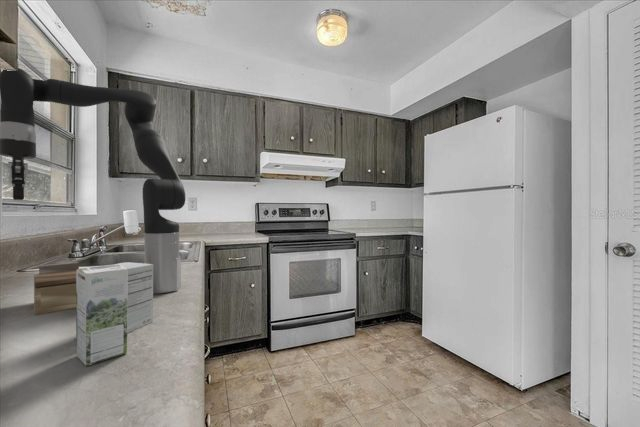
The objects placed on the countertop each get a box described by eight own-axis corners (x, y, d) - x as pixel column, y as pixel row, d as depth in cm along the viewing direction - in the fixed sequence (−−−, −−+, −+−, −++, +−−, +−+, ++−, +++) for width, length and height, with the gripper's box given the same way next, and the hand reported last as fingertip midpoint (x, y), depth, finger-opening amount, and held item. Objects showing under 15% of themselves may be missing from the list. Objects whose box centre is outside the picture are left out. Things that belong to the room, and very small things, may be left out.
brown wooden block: (33, 277, 78) (33, 266, 77) (82, 272, 85) (82, 261, 85) (34, 287, 68) (34, 274, 68) (89, 280, 75) (89, 268, 75)
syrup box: (116, 344, 53) (116, 262, 53) (128, 354, 49) (128, 266, 49) (75, 356, 49) (75, 267, 48) (85, 368, 45) (85, 272, 45)
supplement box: (94, 331, 59) (93, 267, 59) (128, 318, 66) (127, 261, 66) (122, 335, 57) (122, 269, 56) (154, 321, 64) (154, 263, 64)
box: (34, 303, 76) (33, 279, 76) (83, 295, 83) (83, 274, 83) (34, 314, 68) (34, 288, 68) (90, 305, 75) (89, 281, 75)
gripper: (0, 142, 89) (1, 200, 89) (-3, 133, 79) (-2, 198, 79) (35, 146, 94) (35, 200, 94) (36, 138, 84) (36, 199, 85)
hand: (18, 199), depth 87 cm, fingers closed
